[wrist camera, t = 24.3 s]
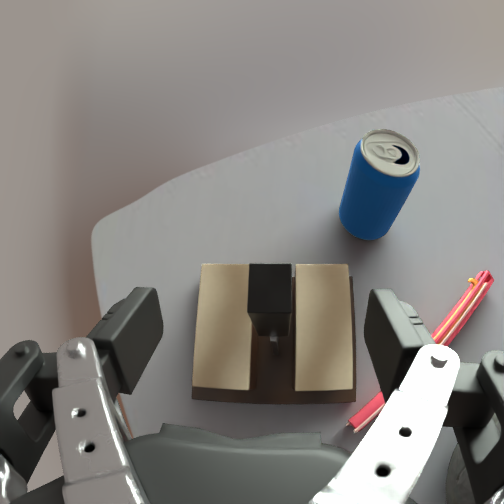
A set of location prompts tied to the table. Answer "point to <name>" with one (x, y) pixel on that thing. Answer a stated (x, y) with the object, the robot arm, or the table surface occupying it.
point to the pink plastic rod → (435, 339)
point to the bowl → (460, 477)
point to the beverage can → (378, 183)
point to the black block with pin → (270, 300)
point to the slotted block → (289, 348)
